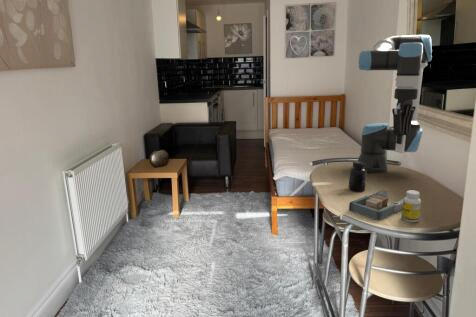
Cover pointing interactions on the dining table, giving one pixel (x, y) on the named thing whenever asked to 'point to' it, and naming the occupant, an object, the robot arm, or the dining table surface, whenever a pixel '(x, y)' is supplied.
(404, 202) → the supplement bottle
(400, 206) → the slot rails
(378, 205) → the beige cube
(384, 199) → the brown cube
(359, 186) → the supplement bottle
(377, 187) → the dining table surface
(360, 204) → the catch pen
